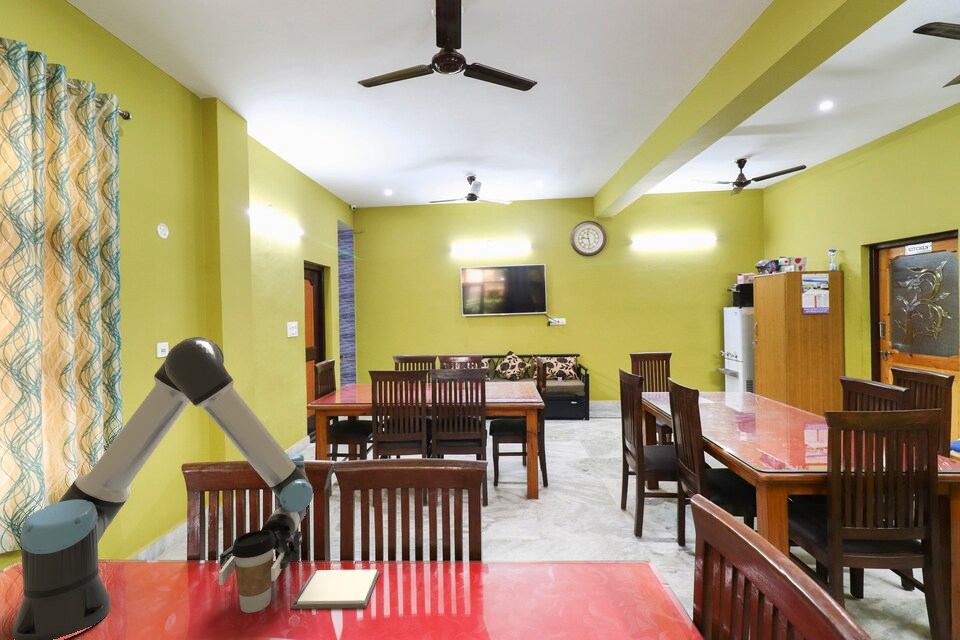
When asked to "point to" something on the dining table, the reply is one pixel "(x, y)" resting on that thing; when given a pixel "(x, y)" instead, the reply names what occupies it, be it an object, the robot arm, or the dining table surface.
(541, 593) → the dining table surface
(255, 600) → the coffee cup
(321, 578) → the notepad
